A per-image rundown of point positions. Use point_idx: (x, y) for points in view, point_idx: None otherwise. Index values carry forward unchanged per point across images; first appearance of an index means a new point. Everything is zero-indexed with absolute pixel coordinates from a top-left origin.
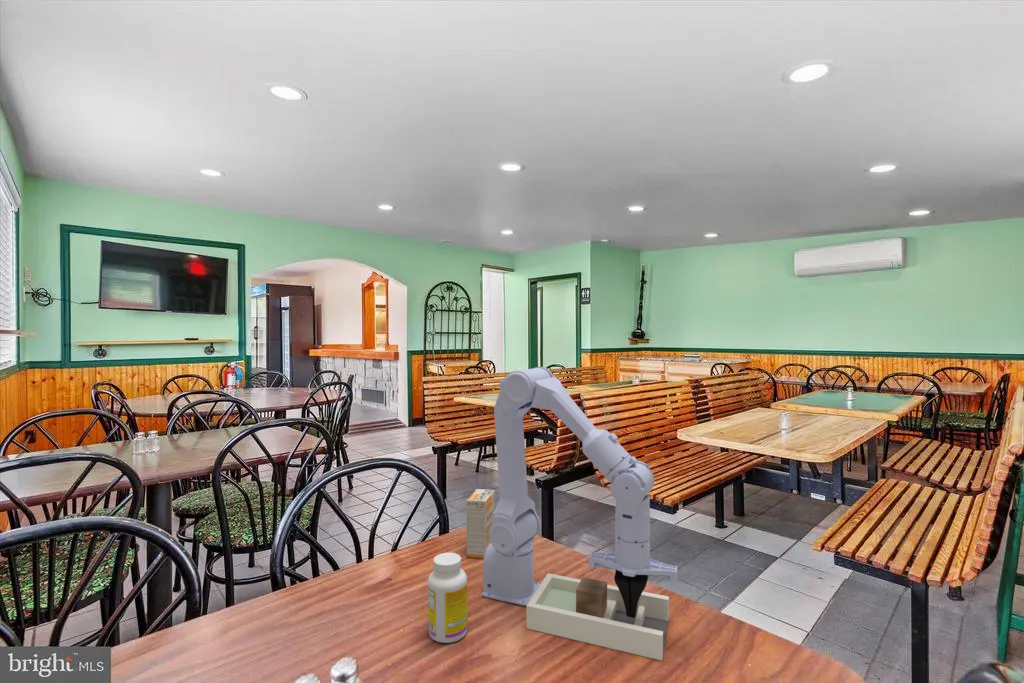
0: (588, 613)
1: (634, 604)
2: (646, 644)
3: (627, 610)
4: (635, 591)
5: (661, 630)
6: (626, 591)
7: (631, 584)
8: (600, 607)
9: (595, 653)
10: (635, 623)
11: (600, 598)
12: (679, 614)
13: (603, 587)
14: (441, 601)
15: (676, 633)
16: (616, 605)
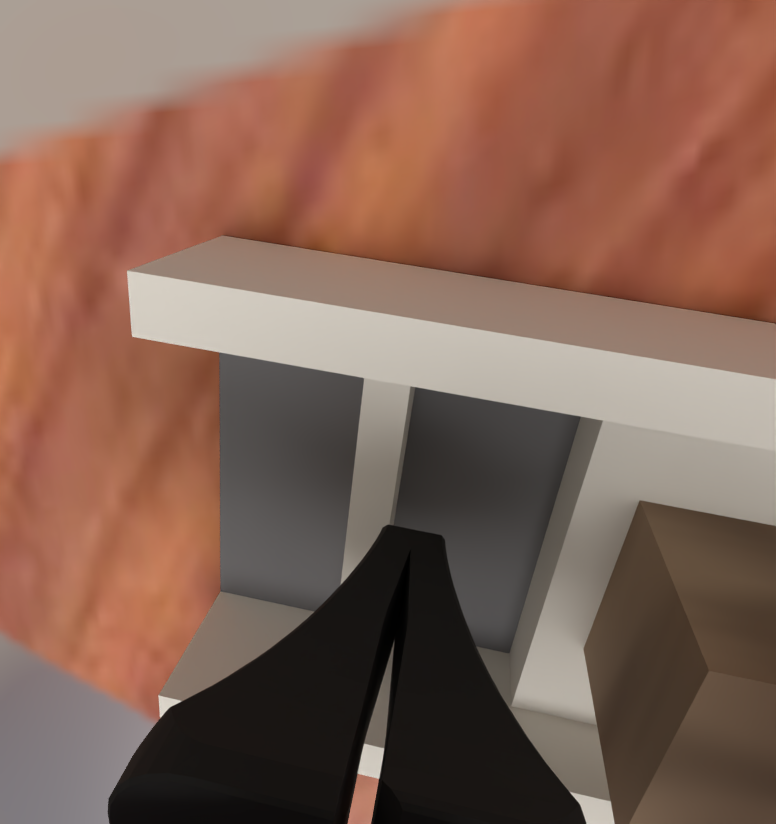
0: (764, 543)
1: (362, 588)
2: (295, 267)
3: (434, 560)
4: (310, 684)
5: (247, 513)
6: (424, 692)
7: (331, 766)
8: (681, 570)
9: (695, 206)
10: (385, 500)
11: (709, 637)
12: (176, 649)
13: (669, 775)
14: None
15: (172, 506)
16: (511, 677)
